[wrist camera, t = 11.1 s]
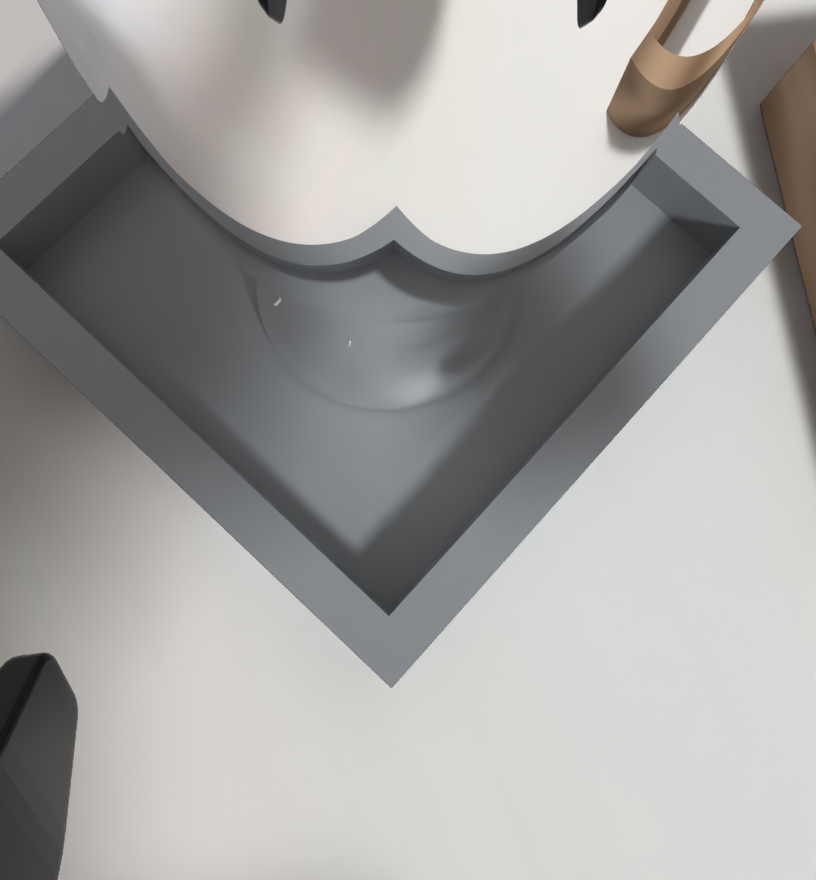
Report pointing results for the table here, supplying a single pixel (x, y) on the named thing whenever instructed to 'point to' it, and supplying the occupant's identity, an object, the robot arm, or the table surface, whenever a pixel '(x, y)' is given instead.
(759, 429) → the table surface
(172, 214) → the coaster tray
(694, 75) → the shiny silver hollow cylinder
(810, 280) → the walnut collar
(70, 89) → the table surface
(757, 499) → the table surface
